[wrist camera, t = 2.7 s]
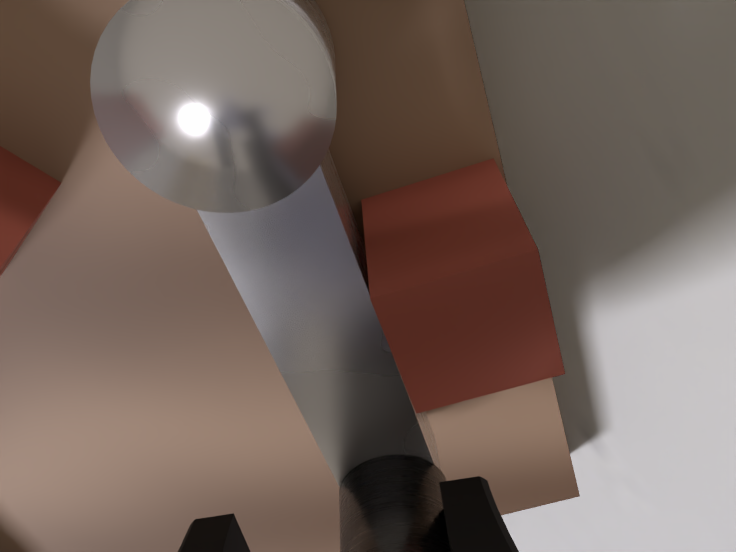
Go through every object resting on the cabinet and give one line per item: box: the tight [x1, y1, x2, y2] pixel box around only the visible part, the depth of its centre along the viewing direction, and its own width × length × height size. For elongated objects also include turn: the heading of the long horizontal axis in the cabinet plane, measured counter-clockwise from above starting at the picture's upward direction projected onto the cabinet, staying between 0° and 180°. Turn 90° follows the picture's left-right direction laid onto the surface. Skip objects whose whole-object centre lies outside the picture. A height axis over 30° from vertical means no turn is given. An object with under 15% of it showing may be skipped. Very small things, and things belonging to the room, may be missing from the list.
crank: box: [90, 0, 451, 552], centre depth 8 cm, size 9×3×5 cm, turn 17°
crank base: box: [0, 0, 580, 552], centre depth 11 cm, size 14×12×4 cm
